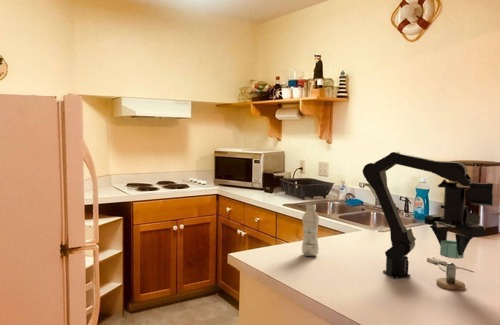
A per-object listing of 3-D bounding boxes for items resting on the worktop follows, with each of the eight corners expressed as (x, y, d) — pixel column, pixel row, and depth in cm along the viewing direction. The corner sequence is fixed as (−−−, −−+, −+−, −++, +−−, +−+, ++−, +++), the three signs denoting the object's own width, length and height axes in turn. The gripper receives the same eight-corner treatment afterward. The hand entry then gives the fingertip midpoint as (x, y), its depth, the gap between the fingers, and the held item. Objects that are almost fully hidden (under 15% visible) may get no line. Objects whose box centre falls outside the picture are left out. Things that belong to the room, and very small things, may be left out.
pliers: (453, 271, 133) (419, 258, 147) (452, 276, 133) (419, 262, 147) (474, 268, 136) (440, 255, 150) (474, 273, 136) (440, 260, 150)
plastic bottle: (321, 255, 153) (323, 204, 151) (312, 259, 148) (313, 206, 146) (308, 252, 157) (309, 202, 156) (298, 255, 152) (299, 204, 151)
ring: (451, 259, 118) (452, 246, 118) (435, 253, 124) (436, 240, 124) (468, 257, 120) (468, 244, 120) (451, 251, 126) (452, 239, 126)
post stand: (450, 291, 118) (451, 268, 117) (430, 282, 126) (431, 260, 125) (471, 289, 120) (472, 265, 120) (450, 279, 128) (451, 258, 127)
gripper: (501, 206, 115) (498, 259, 116) (451, 197, 132) (449, 242, 134) (471, 208, 111) (468, 262, 112) (424, 198, 129) (422, 244, 130)
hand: (451, 252), depth 122 cm, fingers closed on ring, 6 cm apart
